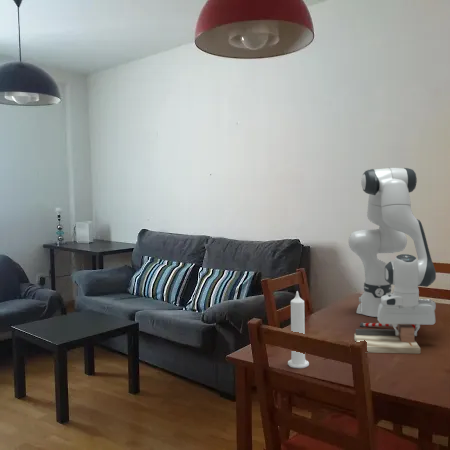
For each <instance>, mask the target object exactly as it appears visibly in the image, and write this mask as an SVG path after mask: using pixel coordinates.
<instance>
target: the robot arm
mask: <svg viewBox="0 0 450 450" xmlns="http://www.w3.org/2000/svg"><path fill="white" fill-rule="evenodd" d="M417 182H418V179H417V173H416V172H415V170H414V169H413V168H408V167H402V168H401V167H388V168H385V167H384V168H376V169H374V168H371V169H367V170H364V172H363V174H362V177H361V183H360V184H361V187H362V191H363V192H364V193H366V194H368V202H367V212H366V213H367V215H366V216H367V219H368V220H369V221H370V222H371V223H372V224H375V225H377V226H379V227H378V228H377V229H375V228H374V229H359V230H355V231H352V232H351V233H350V235H349V237H348V247H349V248H350V251H352V252H353V253H355V254H356V255H357V256H358V257H359V259H360V260H361V262H362V265H363V268H364V269H363V270H364V283H363V291H364V292H363V293H362V294H361V295H360V296H359V297H358V302H359V304H358V306H357V309H356V314H360V315H364V316H369V317H373V318H374V317H375V318H377V319H376V320H377V323H380V324H392V326H391V327H393V330H395V335H396V336H400V331H399V330H398V326H397V324H415V326H416V328H415V329H414V337H417V336H418V331H419V330H420V328H421V326H422V325H425V326H427V325H428V326H431V325H434V324H435V323H436V312H435V311H436V306H437V305H436V302H435V300H432V299H430V298H420V295H419V294H420V291H419V290H420V289H419V287H426V288H427V287H429V286H431V285H432V284H433V283H434V282H435V281H436V279H437V275H436V273H437V272H436V268H435V265H434V262H433V260H432V256H431V253H430V252H431V251H430V249H429V245H428V241H427V236H426V233H425V230H424V225H423V224H422V222H421V221H420V219H418V218H416V216H415V215H414V213H413V211H412V204H411V203H412V202H411V197H410V193H412V192H413V191H414V190H415V189H416V187H417ZM407 235H408V236H409V238H411V239H412V240H413V243H414V248H415V251H416V256H417V257H416V256H414V255H412V254H408V253H405V254H404V253H403V254H398V255H395V258H394V260H390V261H389V262H388V263H387V262H385V261H383V260H381V259H378V254H395V253H399V252H403V251H404V250H405V248H406V247H407V244H408V239H407ZM392 286H394V287H393V292H392Z"/></svg>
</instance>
